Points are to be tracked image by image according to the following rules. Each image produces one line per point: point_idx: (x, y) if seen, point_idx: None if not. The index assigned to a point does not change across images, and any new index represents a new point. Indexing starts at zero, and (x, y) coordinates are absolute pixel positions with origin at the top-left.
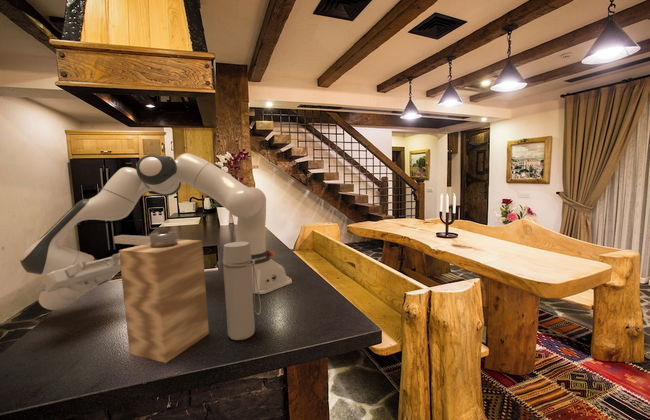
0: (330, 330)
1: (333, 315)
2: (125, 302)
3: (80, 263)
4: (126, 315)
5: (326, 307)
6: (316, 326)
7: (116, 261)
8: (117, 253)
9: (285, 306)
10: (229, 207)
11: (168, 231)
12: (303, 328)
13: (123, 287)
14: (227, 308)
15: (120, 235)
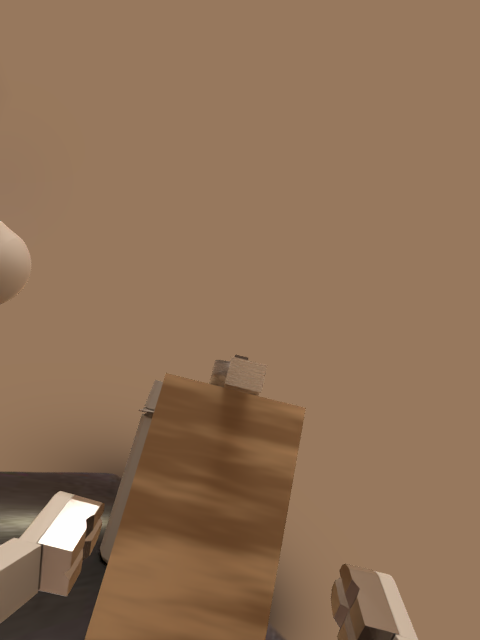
0: (114, 491)
1: (69, 485)
2: (277, 557)
3: (378, 574)
4: (270, 602)
5: (35, 485)
6: (101, 498)
7: (9, 614)
8: (73, 495)
9: (2, 516)
10: (1, 271)
11: (218, 360)
12: (106, 506)
13: (287, 510)
14: None
15: (243, 360)
